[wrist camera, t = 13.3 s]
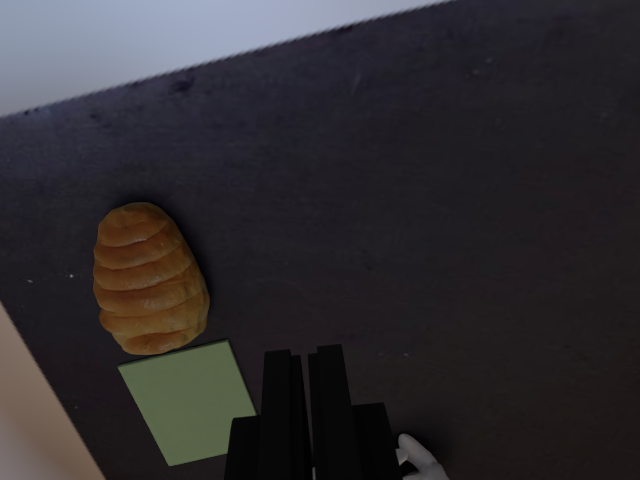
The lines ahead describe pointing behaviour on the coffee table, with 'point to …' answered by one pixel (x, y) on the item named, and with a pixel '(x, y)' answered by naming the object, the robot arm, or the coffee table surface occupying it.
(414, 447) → the grey lumpy elongated piece
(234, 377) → the cloth
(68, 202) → the coffee table surface
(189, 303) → the pastry
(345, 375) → the robot arm
